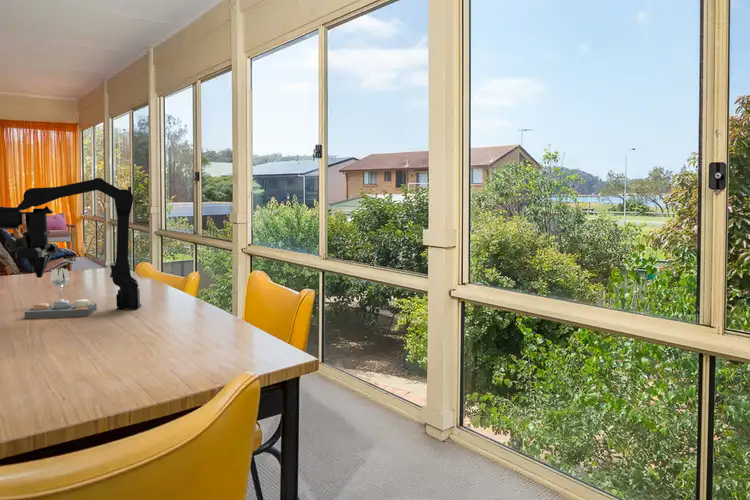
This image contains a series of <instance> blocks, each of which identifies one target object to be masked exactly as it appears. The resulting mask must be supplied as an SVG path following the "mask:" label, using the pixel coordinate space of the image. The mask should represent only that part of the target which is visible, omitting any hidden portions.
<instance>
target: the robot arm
mask: <svg viewBox="0 0 750 500" xmlns="http://www.w3.org/2000/svg"><path fill="white" fill-rule="evenodd" d="M95 191H99V192H101V193H103V194H104V195H106V196H108V197H109V198H112V199H114V205H115V212H116V217H117V219H116V250H115V251H116V253H115V254H116V255H115V261H114V263H111V262H110V273H109V278H110V279H111V278H112V283H113V284H114V285H115V286H116V287H118V288H119V289H118V290H117V294H116V307H117V308H116V309H117V310H134V309H135V310H137V309H139V308H140V307H141V306H142V303H141V299H140V298H141V297H140V296H141V295H140V293H141V291H140V288H139V282H138V280H136V279H135V278H134V277H133V276H132V274H131V267H130V262H129V240H130V239H129V237H130V235H129V234H130V230H129V229H130V216H131V212H132V208H133V202H134V195H133V193H132V192H131V191H130V190H128V189H126V188H125V189H124V188H123V189H122V188H121V189H120V188H118V187H116V186H114V185H112V184H111V183H108V182H107V181H105V179H103V178H102V177H95V178H93V179H89V180H84V181H79V182H75V183H70V184H63V185H59V186H50V187H47V186H46V187H30V188H28V189H25V191H24V193H23V197H22V198H23V199H22V201H21V202H20V203H19V204H18V206H12V207H11V206H0V230H4V229H5V230H7V229H8V230H11V229H13V230H16V229H19V230H20V227H21V226H24V225H25V231H23V233H22V237H19V238H15V237H13V236H11V237H8V238H6V239H5V242H4V248H5V249H7V250H8V252H9V253H12V252H15V258H16V259H25V260H27V261H29V262H30V263H31V265H32V268H33V270H34V272H35V273H34V274H35V276H36V278H39V279H40V278H43V275H44V273H45V271H46V268H47V266H48V264H49V262H50V261H51V257H52V256H53V254H51V253H50V254H49V252H53V253H57V252H59V245H58V244H57V243H55V242H50V243H49V236H48V235H50V230H48V220H47V218H48V217H47V215H48V214H50V215H51V214H53V213H54V210H52V209H51V208H50V207H49V206H48V205H46V204H48V203H50V202H54V201H56V200H58V199H62V198H67V197H70V196H71V197H72V196H76V195H80V194H84V193H89V192H95ZM43 205H46V206H45V207H44V208H38V207H40V206H43ZM34 207H35V208H34ZM36 207H37V208H36ZM31 208H33V209H32V211H25V210H29V209H31ZM24 215H25V217H24ZM24 223H25V224H24Z"/></svg>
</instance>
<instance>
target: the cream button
mask: <svg viewBox="0 0 750 500" xmlns="http://www.w3.org/2000/svg"><path fill="white" fill-rule="evenodd" d="M90 302H91V301H90V299H76V300H74V302H73V304H74V309H77V308H86V307H88V308H89V307H90V304H91V303H90Z"/></svg>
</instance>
